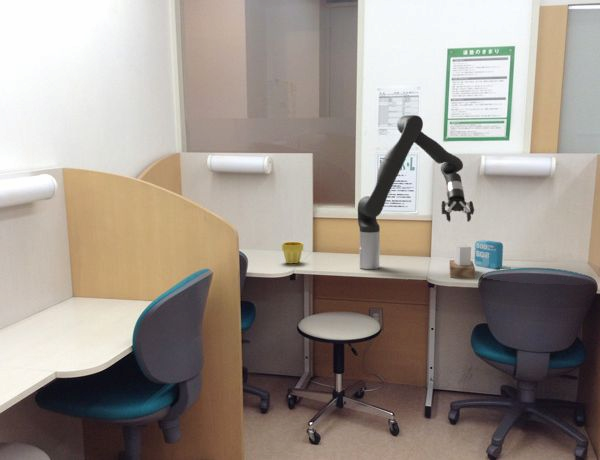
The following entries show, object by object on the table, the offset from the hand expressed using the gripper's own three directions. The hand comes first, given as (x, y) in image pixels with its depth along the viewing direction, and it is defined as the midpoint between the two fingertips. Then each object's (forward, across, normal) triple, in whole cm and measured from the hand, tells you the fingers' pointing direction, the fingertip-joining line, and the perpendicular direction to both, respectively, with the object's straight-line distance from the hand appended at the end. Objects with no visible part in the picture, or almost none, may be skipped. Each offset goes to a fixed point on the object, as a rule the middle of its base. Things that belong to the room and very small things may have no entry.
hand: (459, 220), depth 265 cm
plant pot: (+6, -77, +27) cm, 82 cm away
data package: (+12, +15, +21) cm, 28 cm away
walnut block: (+22, 0, +10) cm, 25 cm away
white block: (+19, 0, +7) cm, 20 cm away
